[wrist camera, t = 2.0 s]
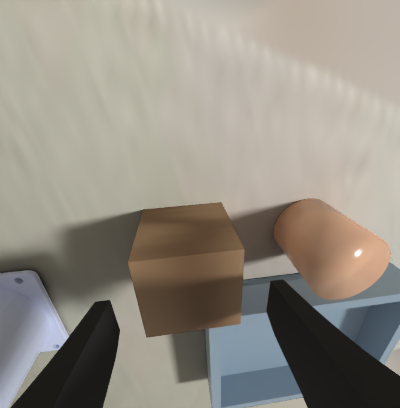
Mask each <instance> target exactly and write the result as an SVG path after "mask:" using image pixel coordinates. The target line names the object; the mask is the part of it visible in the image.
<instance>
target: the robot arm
mask: <svg viewBox="0 0 400 408" xmlns="http://www.w3.org/2000/svg"><path fill="white" fill-rule="evenodd" d="M20 278H21V279H20ZM266 312H267V315H268V318H269V321H270V324H271V327H272V329H273V332H274V335H275V337H276V339H277V342H278V344H279V346H280V348H281V350H282V353H283V355H284V357H285V359H286V361H287V363H288V365H289V368H290V370H291V372H292V374H293V376H294V378H295V380H296V383H297V385H298V387H299V389H300V391H301V393H302V396H303V398H304V400H305V402H306V405H307V407H308V408H400V376H399V375H398V374H396V373H395V372H393V371H392V370H390V369H389V368H388V367H386V366H385V365H384V364H382V363H381V362H380V361H378V360H377V359H376V358H374V357H373V356H371V355H370V354H369V353H368V352H366V351H365V350H364V349H362V348H361V347H360V346H359V345H357V344H356V343H355V342H354V341H352V340H351V339H350V338H349V337H347V336H346V335H345V334H344V333H342V332H341V331H340V330H339V329H338V328H337V327H335V326H334V325H333V324H332V323H331V322H330V321H328V320H327V319H326V318H325V317H324V316H323V315H322V314H320V313H319V312H318V311H317V310H316V309H315V308H314V307H313V306H311V305H310V304H309V303H308V302H307V301H306V300H305V299H304V298H303V297H302V296H301V295H300V294H298V293H297V292H296V291H295V290H294V289H293V288H292V287H291V286H290V285H289V284H288V283H287V282H286V281H285V280H283V279H281V280H273V281H270V287H269V295H268V302H267V309H266ZM119 334H120V329H119V326H118V323H117V320H116V317H115V314H114V311H113V308H112V305H111V302H110V300H107V301H98V302H95V303H94V304H93V305H92V307H91V308H90V309H89V311H88V312H87V313H86V315H85V316H84V318H83V319H82V320H81V322H80V323H79V324H78V326H77V327H76V328H75V330H74V331H73V332H72V334H71V335H70V336H69V335H68V333H67V331H66V329H65V327H64V325H63V323H62V321H61V319H60V317H59V315H58V313H57V312H56V310H55V308H54V306H53V304H52V302H51V300H50V298H49V296H48V294H47V292H46V290H45V288H44V286H43V284H42V282H41V280H40V278H39V276H38V274H37V273H36V272H34V271H31V270H26V271H16V272H7V273H0V408H9V407H10V405H11V403H12V401H13V400H14V398H15V396H16V394H17V392H18V390H19V389H20V387H21V385H22V383H23V381H24V379H25V378H26V376H27V374H28V372H29V370H30V368H31V367H32V365H33V363H34V361H35V359H36V357H37V355H38V354H39V352H46V351H53V350H58V352H57V353H56V354H55V356H54V357H53V358H52V359H51V361H50V362H49V363H48V364H47V365H46V367H45V368H44V369H43V370H42V371H41V373H40V374H39V375H38V376H37V377H36V379H35V380H34V381H33V382H32V383H31V385H30V386H29V387H28V388H27V389H26V391H25V392H24V393H23V394H22V395H21V396H20V398H19V399H18V400H17V401H16V402H15V403H14V404H13V406H12V407H11V408H103V404H104V401H105V397H106V393H107V389H108V385H109V382H110V378H111V374H112V370H113V366H114V362H115V358H116V353H117V347H118V340H119Z"/></svg>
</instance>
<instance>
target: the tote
mask: <svg viewBox="0 0 400 408" xmlns="http://www.w3.org/2000/svg"><path fill="white" fill-rule="evenodd" d="M281 279H283V280H285V281H286V282H287V283H288V284H289V285H290V286H291V287H292V288H293V289H294V290H295V291H296V292H297V293H298V294H300V295H301V296H302V297H303V298H304V299H305V300H306V301H307V302H308V303H309V304H310V305H311V306H313V307H314V308H315V309H316V310H317V311H318V312H319V313H320V314H322V315H323V316H324V317H325V318H326V319H327V320H328V321H330V322H331V323H332V324H333V325H334V326H335V327H337V328H338V329H339V330H340V331H341V332H342V333H344V334H345V335H346V336H347V337H349V338H350V339H351V340H352V341H354V342H355V343H356V344H357V345H359V346H360V347H361V348H362V349H364V350H365V351H366V352H368V353H369V354H370V355H371V356H373V357H374V358H376V359H377V360H378V361H380V362H381V363H382V364H385V363H386V361H387V359H388V358H389V356H390V354H391V353H392V351H393V349H394V348H395V346H396V344H397V342H398V341H399V339H400V269H398V268H397V267H396V266H394V265H393V264H392V263H390V262H389V264H388V266H387V268H386V270H385V272H384V273H383V274H382V276H381V277H380V278H379V279H378V280H377V281H376V282H375V283H374V284H373V285H371V286H370V287H369V288H367V289H366V290H364V291H362V292H361V293H359V294H356V295H354V296H351V297H348V298H345V299H338V300H329V299H324V298H321V297H319V296H318V295H316V294H315V293H314V292H313V290H312V289H311V288H310V286H309V285H308V284H307V282H306V281H305V280H304V278H303V277H302V276H301V274H300V273H297V274H289V275H281V276H273V277H264V278H256V279H248V280H243V288H242V306H241V324H238V325H231V326H224V327H217V328H210V329H205V336H206V355H207V373H208V383H209V390H210V398H211V406H212V408H246V407H252V406H257V405H263V404H269V403H274V402H280V401H286V400H291V399H297V398H303V396H302V393H301V391H300V389H299V387H298V385H297V383H296V380H295V378H294V376H293V374H292V372H291V370H290V368H289V365H288V363H287V361H286V359H285V357H284V355H283V353H282V350H281V348H280V346H279V344H278V342H277V339H276V337H275V335H274V332H273V329H272V327H271V324H270V321H269V318H268V315H267V312H266V309H267V302H268V295H269V287H270V281H273V280H281Z"/></svg>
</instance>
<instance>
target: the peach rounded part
mask: <svg viewBox="0 0 400 408" xmlns="http://www.w3.org/2000/svg"><path fill="white" fill-rule="evenodd" d="M274 238H275V241H276V242H277V244H278V245H279V246H280V248H281V249H282V250H283V252H284V253H285V254H286V256H287V257H288V258H289V260H290V261H291V262H292V264H293V265H294V266H295V268H296V269H297V270H298V272H299V273H300V274H301V276H302V277H303V278H304V280H305V281H306V282H307V284H308V285H309V286H310V288H311V289H312V290H313V292H314V293H315V294H316V295H318V296H319V297H321V298H324V299H329V300H338V299H345V298H348V297H351V296H354V295H356V294H359V293H361V292H362V291H364V290H366V289H367V288H369V287H370V286H371V285H373V284H374V283H375V282H376V281H377V280H378V279H379V278H380V277H381V276H382V274H383V273H384V272H385V270H386V268H387V266H388V264H389V261H390V248H389V246H388V244H387V243H386V242H385V241H384V240H383V239H381V238H379V237H378V236H376V235H375V234H373V233H372V232H370V231H369V230H367V229H365V228H364V227H362V226H361V225H359V224H358V223H356V222H355V221H353V220H351V219H350V218H348V217H347V216H345V215H344V214H342V213H341V212H339V211H337V210H336V209H334V208H333V207H331V206H330V205H328V204H326V203H325V202H323V201H321V200H319V199H303V200H300V201H297V202H295V203H293V204H291V205H290V206H288V207H287V208H286V209H285V210H284V211H283V212H282V213H281V214H280V215H279V217H278V219H277V220H276V223H275V226H274Z"/></svg>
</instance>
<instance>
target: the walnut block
mask: <svg viewBox="0 0 400 408" xmlns="http://www.w3.org/2000/svg"><path fill="white" fill-rule="evenodd" d="M244 252H245V249H244V247H243V245H242V243H241V241H240V239H239V237H238V235H237V233H236V231H235V229H234V227H233V225H232V223H231V221H230V219H229V217H228V215H227V213H226V211H225V209H224V207H223V205H222V203H221V202H220V203H209V204H199V205H188V206H177V207H166V208H155V209H144V210H143V212H142V215H141V218H140V222H139V225H138V229H137V232H136V236H135V239H134V242H133V246H132V249H131V253H130V256H129V260H128V266H129V270H130V274H131V278H132V282H133V286H134V290H135V293H136V297H137V301H138V305H139V309H140V313H141V317H142V321H143V325H144V329H145V333H146V337H154V336H161V335H168V334H175V333H182V332H189V331H196V330H203V329H210V328H217V327H224V326H231V325H238V324H241V306H242V288H243V270H244Z"/></svg>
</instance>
